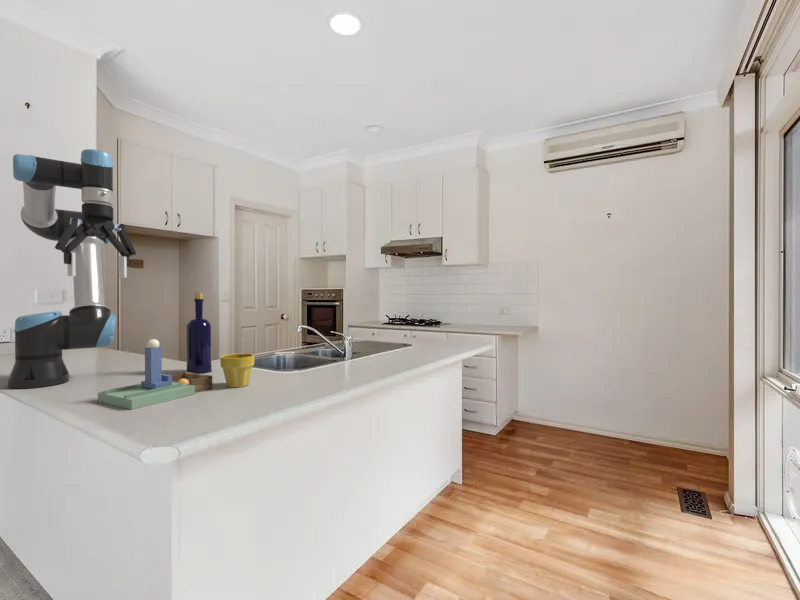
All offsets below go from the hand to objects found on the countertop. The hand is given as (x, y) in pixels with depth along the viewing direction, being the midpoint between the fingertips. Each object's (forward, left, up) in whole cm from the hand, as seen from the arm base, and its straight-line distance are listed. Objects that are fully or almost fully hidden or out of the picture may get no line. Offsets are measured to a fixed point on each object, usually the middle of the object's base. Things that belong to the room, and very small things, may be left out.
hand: (98, 277), depth 121 cm
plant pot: (+27, +27, -35) cm, 52 cm away
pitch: (+17, +4, -35) cm, 39 cm away
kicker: (+17, +6, -32) cm, 37 cm away
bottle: (-4, +36, -35) cm, 50 cm away
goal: (+17, +17, -35) cm, 42 cm away
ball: (+17, +15, -33) cm, 40 cm away
